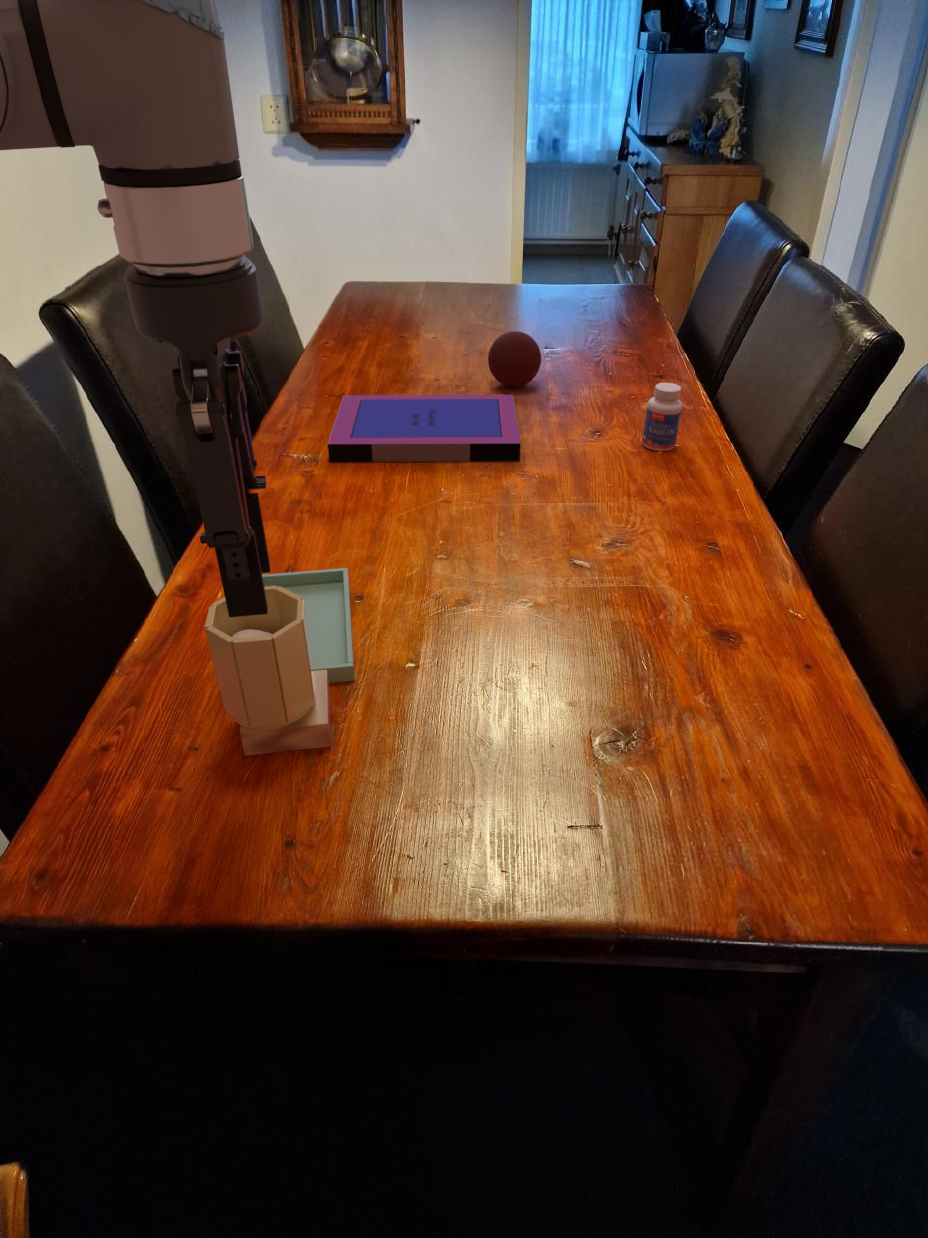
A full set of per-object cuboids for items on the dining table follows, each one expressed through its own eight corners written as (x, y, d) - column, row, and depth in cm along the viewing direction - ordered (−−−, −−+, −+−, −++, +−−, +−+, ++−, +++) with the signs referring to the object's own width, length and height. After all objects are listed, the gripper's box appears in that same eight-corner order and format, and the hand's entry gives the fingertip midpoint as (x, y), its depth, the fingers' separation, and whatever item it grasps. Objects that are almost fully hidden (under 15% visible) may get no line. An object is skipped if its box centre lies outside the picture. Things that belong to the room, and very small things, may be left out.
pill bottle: (642, 451, 131) (650, 392, 126) (640, 437, 136) (648, 380, 130) (677, 452, 131) (687, 393, 125) (674, 439, 135) (683, 381, 129)
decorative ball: (540, 377, 160) (543, 324, 154) (539, 395, 152) (542, 341, 146) (489, 375, 160) (490, 323, 155) (485, 393, 152) (486, 339, 146)
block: (244, 756, 76) (239, 732, 74) (250, 699, 83) (245, 677, 81) (331, 747, 77) (327, 723, 75) (330, 692, 84) (327, 669, 82)
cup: (315, 726, 75) (302, 637, 69) (222, 735, 74) (200, 645, 68) (317, 669, 82) (305, 583, 76) (231, 676, 81) (212, 590, 75)
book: (520, 443, 127) (327, 444, 127) (519, 461, 128) (329, 461, 128) (513, 394, 144) (343, 395, 144) (513, 410, 145) (344, 411, 145)
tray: (355, 680, 85) (353, 665, 84) (225, 693, 83) (221, 678, 82) (349, 581, 100) (347, 567, 99) (239, 590, 99) (236, 576, 98)
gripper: (146, 232, 54) (210, 536, 68) (89, 304, 40) (185, 671, 54) (260, 228, 55) (301, 528, 69) (245, 297, 41) (300, 660, 55)
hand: (250, 590), depth 61 cm, fingers open, 5 cm apart
